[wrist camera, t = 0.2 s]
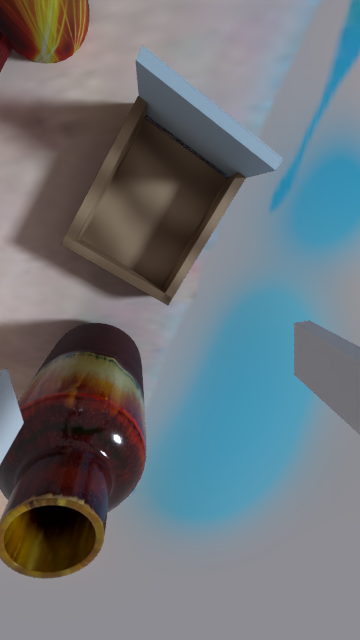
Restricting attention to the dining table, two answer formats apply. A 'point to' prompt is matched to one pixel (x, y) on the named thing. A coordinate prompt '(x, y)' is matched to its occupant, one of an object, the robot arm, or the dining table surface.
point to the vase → (73, 452)
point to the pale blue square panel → (200, 120)
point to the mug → (42, 28)
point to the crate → (150, 208)
